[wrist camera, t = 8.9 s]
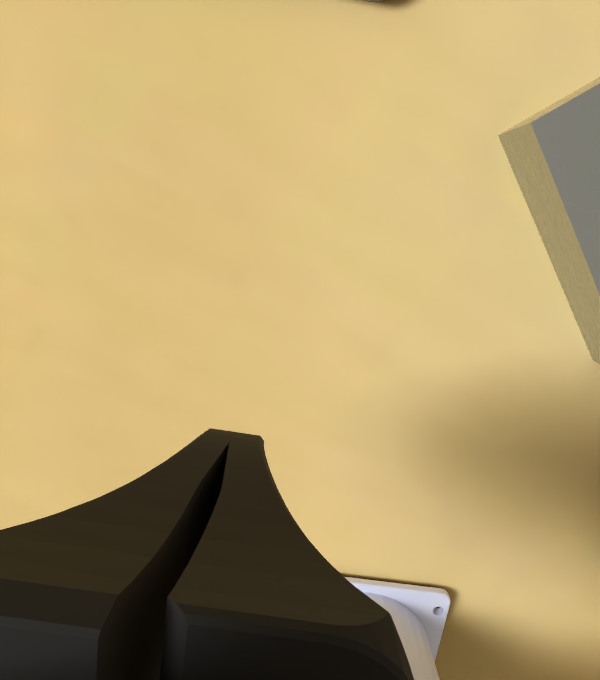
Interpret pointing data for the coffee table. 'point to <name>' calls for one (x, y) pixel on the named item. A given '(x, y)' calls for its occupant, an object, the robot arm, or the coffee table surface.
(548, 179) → the plate block
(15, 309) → the coffee table surface
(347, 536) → the coffee table surface
